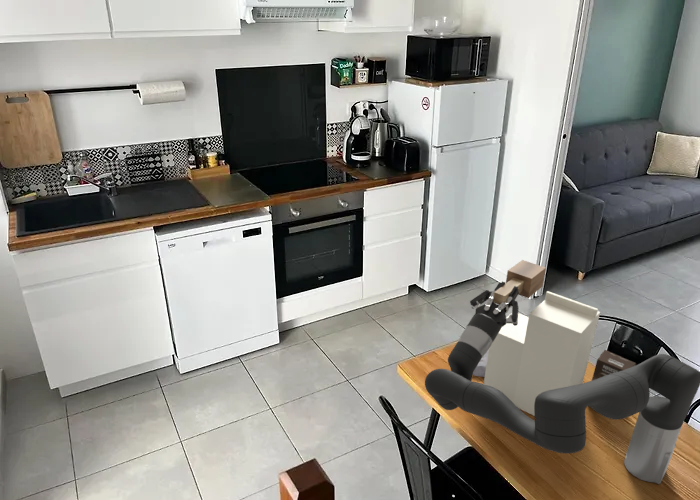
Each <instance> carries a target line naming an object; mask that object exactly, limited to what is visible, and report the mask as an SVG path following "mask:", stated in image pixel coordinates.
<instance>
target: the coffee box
mask: <svg viewBox="0 0 700 500" xmlns="http://www.w3.org/2000/svg"><path fill="white" fill-rule="evenodd" d="M636 365H637V363H636V362H634V361H632V360H629V359H627V358H624V357H623V356H621V355H618V354H616V353H614V352H611V351H609V350H606V349H604V350H603V351H602V353H601V354H600V355H599V357H598V358H597V360H596V363H595V368H594V370H593V375H592V378H591V381H592V380H595V379H598V378H601V377H603V376H606V375H609V374H612V373H615V372H619V371H623V370H625V369H628V368H631V367H633V366H636Z"/></svg>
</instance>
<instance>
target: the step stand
mask: <svg viewBox="0 0 700 500" xmlns="http://www.w3.org/2000/svg"><path fill="white" fill-rule="evenodd" d="M511 314H512V312H511V313H509V315H507V316H506V318H509V316H510V315H511ZM600 315H601V311H599V308H597V307H594V306H592V305H588V304H585V303H584V302H580V301H577V300H574V299H573V298H572V299H571V298H569V297H566V296H563V295H560V294H557V293H554V292H551V291H549V290H547V291H546V292H545V297H544V300H543V301H542V302H541V303H539V304H538V305H537V306H536V307H534V309H532V311H530V312H529V314H528V316H527V315H524V314H522V313H520V312H518V324H517V325H516V326H514V325H513V324H511V323H506V325H504V326H503V327H502V328H501V330H500V331H499V333H498V335H497V336H496V338H495V340H494V341H493V343H492V345H491V347H490V348H489V349H488V350H489V351H488V358H487V365H486V371H485V377H484V380H483V384H484V385H488V386H491V387H494V388H496V389H498V390H499V391H501V392H502V393H503V394H505V395H506V396H507V397H508V398H509V399H510V400H511V401H512V402H513V403H514V404H515V405H516V406H517V407H518V408H519V409H520V410H521V411H522V412H523V411H524V413H527V414H529V415H532V416H534V417H535V414H534V404H535V399H536V397H537V396H538V395H539V394H540V393H542V392H545V391H548V390H553V389H557V388H563V387H568V386H573V385H578V384H582V383H584V379H585V376H586V372H587V368H588V363H589V359H590V355H591V352H592V351H591V350H592V348H593V347H592V346H593V343H594V339H595V335H596V331H597V327H598V323H599V319H600Z"/></svg>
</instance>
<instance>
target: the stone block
mask: <svg viewBox="0 0 700 500" xmlns="http://www.w3.org/2000/svg"><path fill="white" fill-rule="evenodd" d="M488 351H489V349H488ZM488 351H487V352H486V353H485V355H484V356H483V357H482V358H481V360H480V362H479V363H478V365H477V367H476V368H475V370H474V372H473V375H472V376H475V377H482V378H483V377H484V378H485V371H486V365H487V358H488Z"/></svg>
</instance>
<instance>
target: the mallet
mask: <svg viewBox="0 0 700 500" xmlns="http://www.w3.org/2000/svg"><path fill="white" fill-rule="evenodd" d="M546 270H547V267H545V266H541V265H539V264H536V263H533V262H529V261H527V260H524V259H521V260H520V261H518V262H517V263H516V264H515V265H513V266H512V267H511V268H509V269H508V270H507V273H506V279H505V285H503V286H502V287H501V288H499V289H498V290H497V291H495V292H494V303H495V304H497V305H500V304H501V303H502V302H505V300H506V299H507V298H508V297H509V294H510V293H511V291H512V289H513V288H514V286H517V287H518V290H519V294H518V296H521V297H523V298H527V299H529V298H531V297H532V296H533V295H534V294H535V293H536V292H538V291H539V290H540V289H541V288H542V287H543V285H544V279H545V275H546Z"/></svg>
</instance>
